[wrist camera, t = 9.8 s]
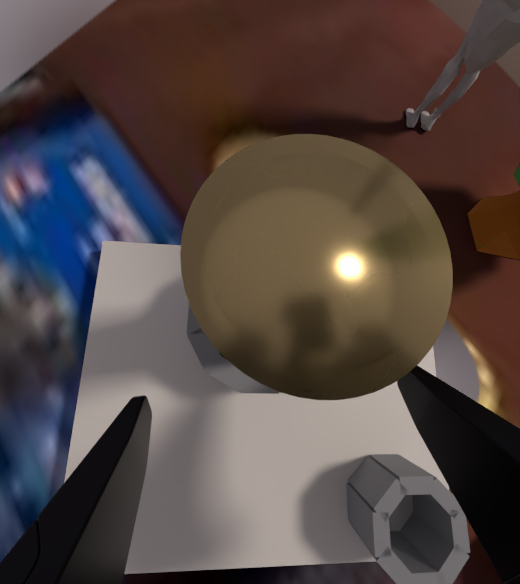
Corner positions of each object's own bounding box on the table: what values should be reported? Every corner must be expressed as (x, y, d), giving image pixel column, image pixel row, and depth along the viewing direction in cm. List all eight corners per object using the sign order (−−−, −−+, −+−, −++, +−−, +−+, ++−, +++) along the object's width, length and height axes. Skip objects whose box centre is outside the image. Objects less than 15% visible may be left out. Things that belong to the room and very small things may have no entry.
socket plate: (437, 539, 17) (519, 614, 12) (66, 556, 15) (-13, 653, 10) (410, 266, 21) (463, 241, 16) (112, 249, 19) (71, 213, 14)
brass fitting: (272, 377, 17) (400, 457, 4) (203, 341, 17) (120, 308, 4) (304, 309, 18) (482, 208, 5) (240, 275, 18) (263, 93, 5)
